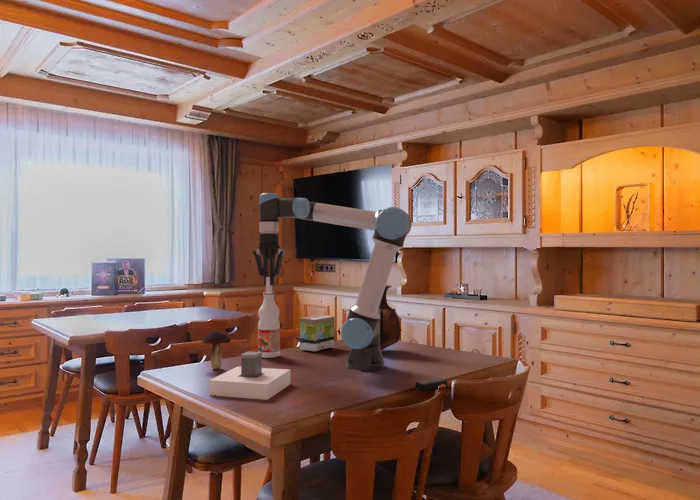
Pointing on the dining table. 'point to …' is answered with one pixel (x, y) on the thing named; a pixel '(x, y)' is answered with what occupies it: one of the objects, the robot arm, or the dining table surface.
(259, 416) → the dining table surface
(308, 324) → the tea box
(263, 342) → the fruit juice
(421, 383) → the multiport hub
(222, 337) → the decorative mushroom
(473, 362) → the dining table surface
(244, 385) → the socket
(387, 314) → the vase
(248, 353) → the plug
